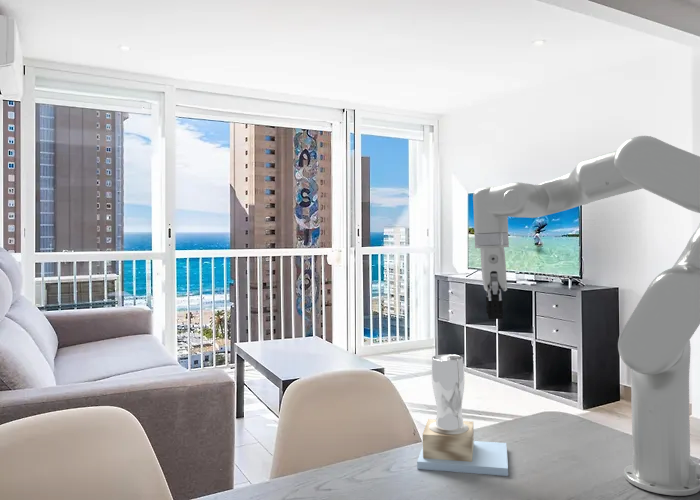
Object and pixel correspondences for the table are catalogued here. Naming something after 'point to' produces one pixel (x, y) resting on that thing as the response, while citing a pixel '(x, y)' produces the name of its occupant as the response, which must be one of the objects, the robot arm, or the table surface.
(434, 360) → the beer glass
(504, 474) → the blueprint board
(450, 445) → the plinth
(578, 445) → the table surface
